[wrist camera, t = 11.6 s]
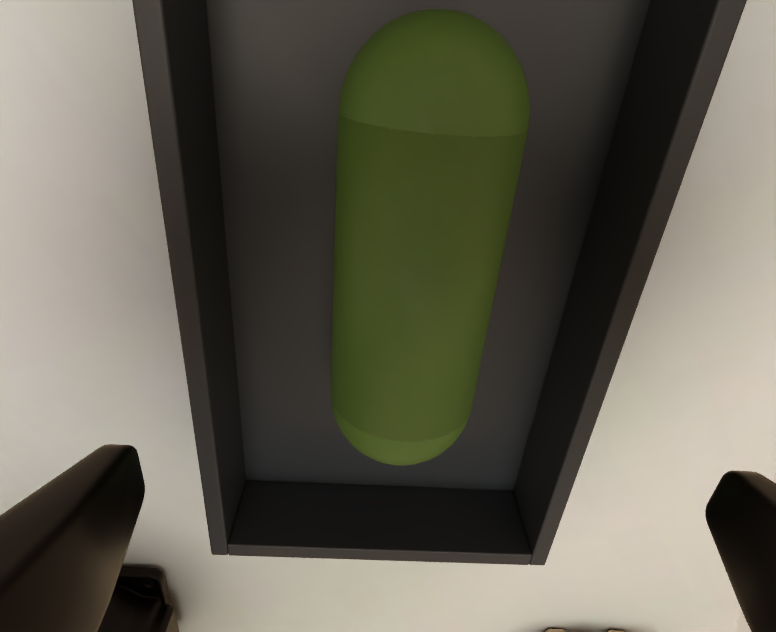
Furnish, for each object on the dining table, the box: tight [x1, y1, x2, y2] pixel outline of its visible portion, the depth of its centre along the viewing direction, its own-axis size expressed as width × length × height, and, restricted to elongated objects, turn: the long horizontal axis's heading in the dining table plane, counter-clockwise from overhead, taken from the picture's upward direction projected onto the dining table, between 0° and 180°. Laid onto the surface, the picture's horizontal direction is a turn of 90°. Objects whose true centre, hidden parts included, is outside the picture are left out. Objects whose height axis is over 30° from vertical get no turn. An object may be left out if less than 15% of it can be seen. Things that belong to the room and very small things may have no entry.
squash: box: [330, 9, 530, 466], centre depth 14 cm, size 4×12×4 cm, turn 176°
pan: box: [132, 0, 747, 565], centre depth 15 cm, size 12×22×3 cm, turn 176°
